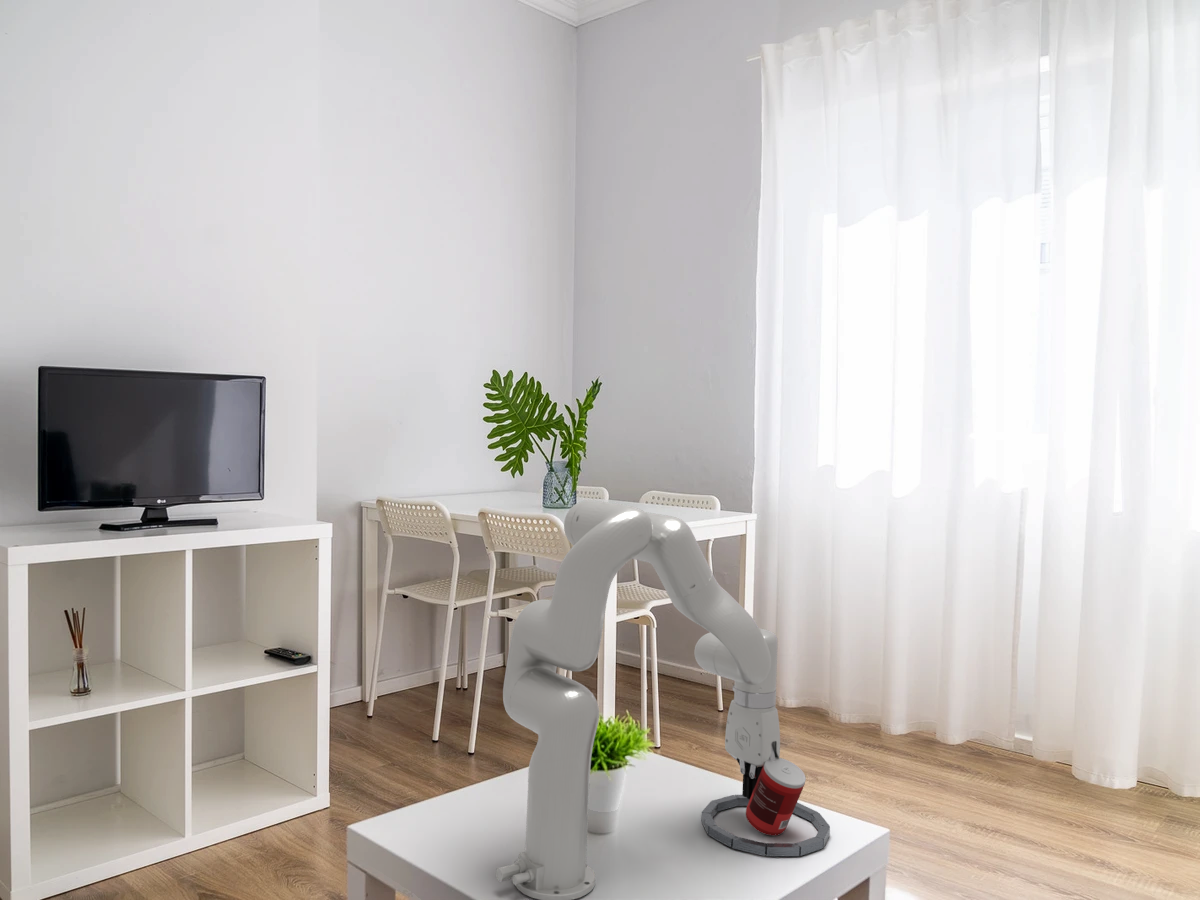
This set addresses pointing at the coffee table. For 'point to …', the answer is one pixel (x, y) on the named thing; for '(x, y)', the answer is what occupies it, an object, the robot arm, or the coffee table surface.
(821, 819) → the ring
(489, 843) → the coffee table surface
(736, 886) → the coffee table surface
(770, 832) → the canned food
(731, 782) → the coffee table surface
